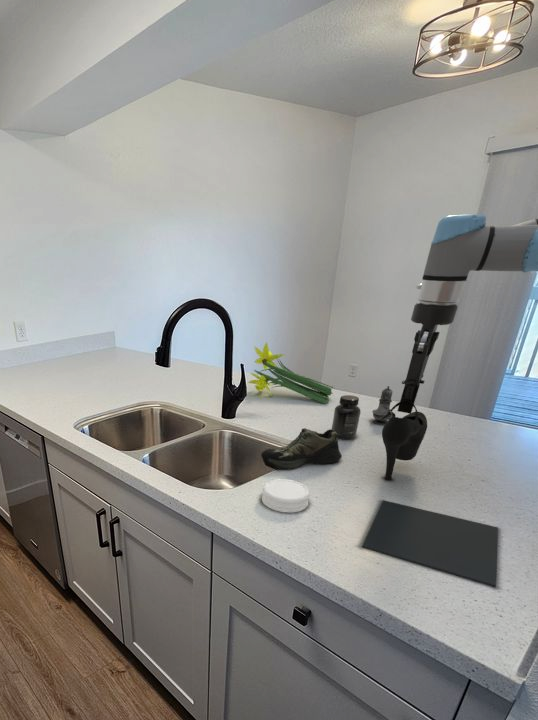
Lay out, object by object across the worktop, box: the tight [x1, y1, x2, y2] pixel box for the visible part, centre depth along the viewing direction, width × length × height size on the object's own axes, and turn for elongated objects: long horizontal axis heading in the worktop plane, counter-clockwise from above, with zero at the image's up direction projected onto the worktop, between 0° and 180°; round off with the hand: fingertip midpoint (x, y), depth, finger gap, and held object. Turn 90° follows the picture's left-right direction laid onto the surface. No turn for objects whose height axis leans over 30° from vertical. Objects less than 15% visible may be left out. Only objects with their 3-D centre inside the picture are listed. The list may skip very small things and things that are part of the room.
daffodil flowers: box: [247, 342, 336, 405], centre depth 165 cm, size 17×15×35 cm
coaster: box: [261, 478, 311, 514], centre depth 97 cm, size 10×10×4 cm
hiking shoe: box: [260, 427, 343, 471], centre depth 114 cm, size 8×21×9 cm, turn 99°
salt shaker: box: [371, 385, 393, 426], centre depth 135 cm, size 6×6×12 cm
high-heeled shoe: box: [381, 400, 428, 481], centre depth 100 cm, size 8×19×20 cm, turn 137°
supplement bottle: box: [331, 394, 361, 441], centre depth 127 cm, size 7×7×12 cm
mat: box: [361, 499, 499, 588], centre depth 83 cm, size 20×20×1 cm
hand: (404, 411), depth 100 cm, fingers closed
